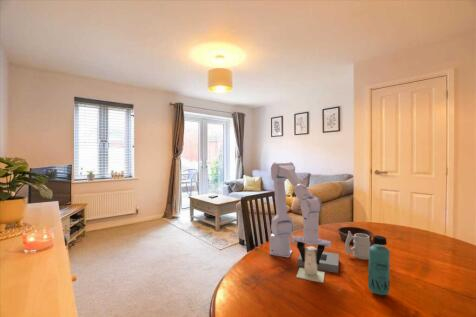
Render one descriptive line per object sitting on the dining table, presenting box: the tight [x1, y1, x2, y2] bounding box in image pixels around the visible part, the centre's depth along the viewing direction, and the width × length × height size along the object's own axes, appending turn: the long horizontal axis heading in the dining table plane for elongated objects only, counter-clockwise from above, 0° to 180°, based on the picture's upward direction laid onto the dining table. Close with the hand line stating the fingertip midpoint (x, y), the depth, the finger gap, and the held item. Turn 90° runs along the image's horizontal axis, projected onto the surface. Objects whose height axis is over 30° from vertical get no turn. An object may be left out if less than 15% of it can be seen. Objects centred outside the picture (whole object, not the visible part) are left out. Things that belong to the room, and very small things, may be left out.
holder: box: [297, 251, 340, 274], centre depth 106 cm, size 16×12×3 cm
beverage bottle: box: [367, 235, 391, 296], centre depth 83 cm, size 6×7×20 cm
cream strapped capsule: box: [303, 245, 318, 275], centre depth 95 cm, size 7×5×9 cm
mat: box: [295, 267, 326, 284], centre depth 96 cm, size 10×8×1 cm
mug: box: [344, 231, 371, 261], centre depth 112 cm, size 8×12×12 cm, turn 93°
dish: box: [337, 226, 375, 246], centre depth 133 cm, size 17×22×5 cm
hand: (310, 262), depth 96 cm, fingers closed on cream strapped capsule, 5 cm apart
